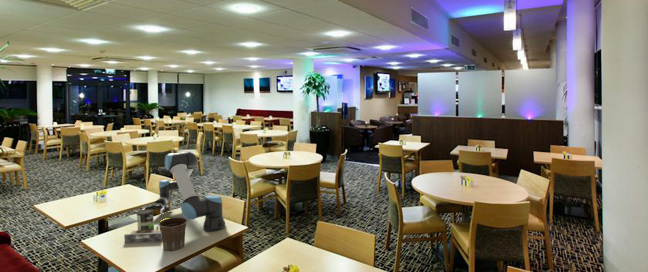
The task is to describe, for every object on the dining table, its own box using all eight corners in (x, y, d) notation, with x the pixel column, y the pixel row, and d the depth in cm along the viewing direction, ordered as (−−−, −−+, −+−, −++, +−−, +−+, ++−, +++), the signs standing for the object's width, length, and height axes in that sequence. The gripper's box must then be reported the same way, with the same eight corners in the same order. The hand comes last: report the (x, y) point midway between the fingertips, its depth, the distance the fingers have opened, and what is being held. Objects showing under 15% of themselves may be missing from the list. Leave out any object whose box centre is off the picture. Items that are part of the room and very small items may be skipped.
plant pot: (193, 242, 224) (192, 218, 222) (178, 253, 208) (176, 227, 206) (171, 240, 227) (169, 216, 225) (154, 251, 211) (152, 225, 209)
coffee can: (157, 228, 246) (156, 209, 244) (147, 234, 236) (146, 214, 234) (144, 227, 248) (143, 208, 246) (134, 233, 238) (132, 213, 236)
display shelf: (167, 233, 238) (166, 225, 237) (160, 241, 225) (160, 233, 224) (133, 234, 235) (132, 227, 235) (124, 243, 222) (124, 235, 221)
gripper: (177, 207, 274) (169, 217, 253) (144, 208, 271) (133, 218, 250) (177, 198, 273) (168, 207, 252) (143, 198, 270) (132, 208, 249)
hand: (150, 212), depth 251 cm, fingers open, 13 cm apart
